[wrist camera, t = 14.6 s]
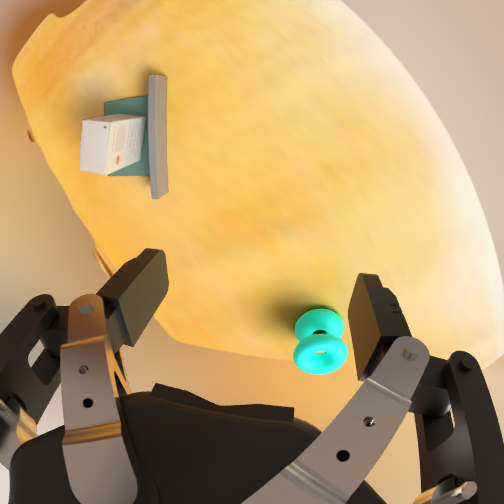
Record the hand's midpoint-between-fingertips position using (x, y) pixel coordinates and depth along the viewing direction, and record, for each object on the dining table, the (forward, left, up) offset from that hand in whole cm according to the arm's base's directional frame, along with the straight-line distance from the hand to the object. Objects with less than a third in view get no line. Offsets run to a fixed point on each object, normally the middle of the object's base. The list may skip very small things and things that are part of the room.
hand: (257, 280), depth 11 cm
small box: (-3, -26, -33) cm, 42 cm away
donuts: (+32, +10, -33) cm, 47 cm away
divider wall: (-3, -20, -33) cm, 39 cm away
